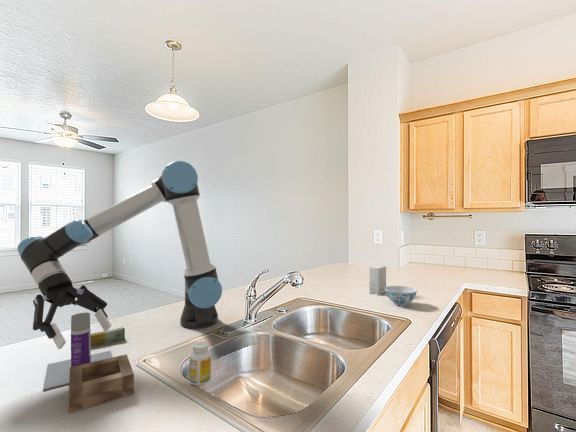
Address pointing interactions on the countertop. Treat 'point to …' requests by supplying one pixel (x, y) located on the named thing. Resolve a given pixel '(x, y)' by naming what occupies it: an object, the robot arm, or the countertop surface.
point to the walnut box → (100, 382)
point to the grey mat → (66, 371)
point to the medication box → (107, 336)
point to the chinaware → (400, 294)
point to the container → (80, 339)
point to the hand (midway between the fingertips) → (87, 336)
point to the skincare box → (377, 279)
